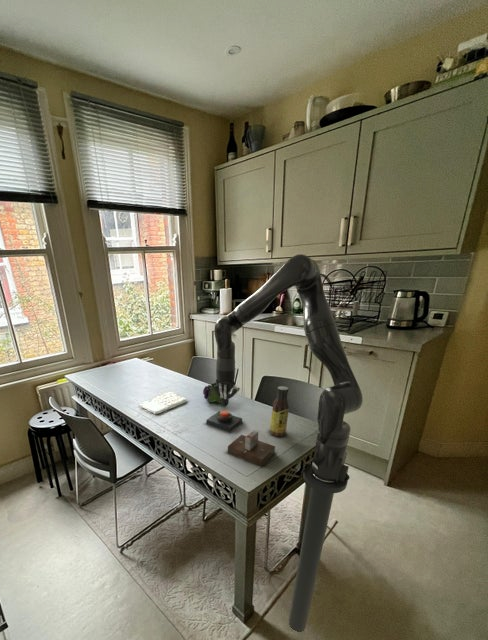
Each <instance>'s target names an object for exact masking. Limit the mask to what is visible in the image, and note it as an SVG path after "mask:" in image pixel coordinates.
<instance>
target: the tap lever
mask: <svg viewBox="0 0 488 640" xmlns="http://www.w3.org/2000/svg"><path fill="white" fill-rule="evenodd" d="M245 436H246V439H245V449H247V450H249V451H250V450H251V449H252V448H253V447H254V446H255V445H256V444H257V443H258V440H259V431H258V430H255V429H253V430H252V431H250V433H249V434H247V435H245Z"/></svg>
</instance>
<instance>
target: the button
mask: <svg viewBox="0 0 488 640" xmlns="http://www.w3.org/2000/svg"><path fill="white" fill-rule="evenodd" d="M229 413H230V412H229V411H228V410H221V411H220V416H221V417H223V418H227V417H228V416H229Z"/></svg>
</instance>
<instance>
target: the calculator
mask: <svg viewBox="0 0 488 640" xmlns="http://www.w3.org/2000/svg"><path fill="white" fill-rule="evenodd" d="M186 402H187V398H185V397H184V396H181V395H178V394H177V393H175V392H172V391H170V392H169V391H168V392H166V393H162V394H160V395H158V396H156V397H153V398H150V399H148V400H145V401H142V402H141V403H140V404H139V405H140V407H141V408H143V409H145V410H146V411H148V412H150V413H152V414H154V415H158V414H161V413H163V412H166V411H168V410H170V409H171V410H172V409H173V408H176V407H178V406H180V405H183V404H185V403H186Z"/></svg>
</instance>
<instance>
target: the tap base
mask: <svg viewBox="0 0 488 640" xmlns="http://www.w3.org/2000/svg"><path fill="white" fill-rule="evenodd" d="M246 436H247V435H244V434H240V435H239V436H238V437H237V438H235V440H233V441H232V442H231V443H230V444H228V446H227V453H228V454H230V455H233V456H235V457H237V458H239V459H243V460H245V461H247V462H250V463H251V464H254V465H256V466H257V465H258V466H260V467H263V466H264V465H265V464H266V463H267V462H268V461H269V460H270V458H272V457H273V455H274V454H275V452H276V451H275V450H276V446H275V445H273V444H270V443H267V442H264V441H261V440H259V439H258V443H257V444H256V445H255V446H254V447H253V448H252V449H251V450H250V451H249V450H247V449H245V439H246Z"/></svg>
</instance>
